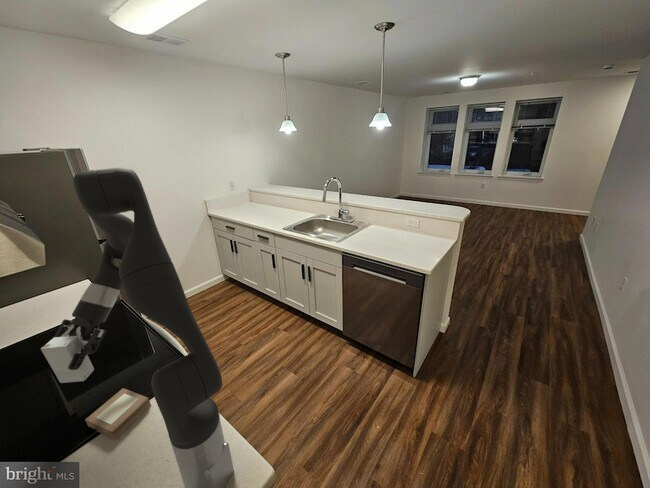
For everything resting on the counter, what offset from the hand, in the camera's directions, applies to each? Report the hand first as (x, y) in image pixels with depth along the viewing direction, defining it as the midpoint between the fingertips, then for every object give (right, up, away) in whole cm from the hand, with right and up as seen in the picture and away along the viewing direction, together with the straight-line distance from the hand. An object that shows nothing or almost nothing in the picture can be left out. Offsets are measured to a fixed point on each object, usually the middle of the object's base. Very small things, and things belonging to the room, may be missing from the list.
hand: (62, 365), depth 68 cm
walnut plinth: (+11, -16, +5) cm, 20 cm away
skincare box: (0, -5, +3) cm, 6 cm away
